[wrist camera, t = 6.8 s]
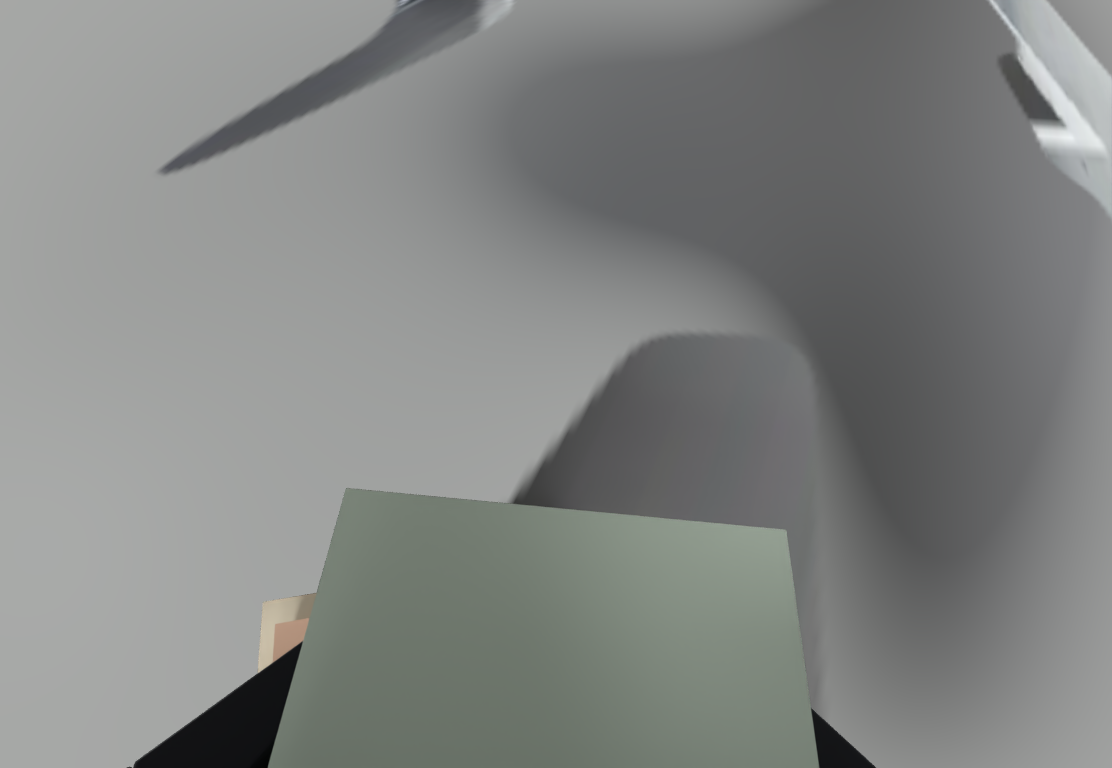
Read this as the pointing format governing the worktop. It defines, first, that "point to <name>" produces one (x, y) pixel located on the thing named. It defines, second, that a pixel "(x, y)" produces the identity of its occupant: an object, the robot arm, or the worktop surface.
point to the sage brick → (546, 642)
